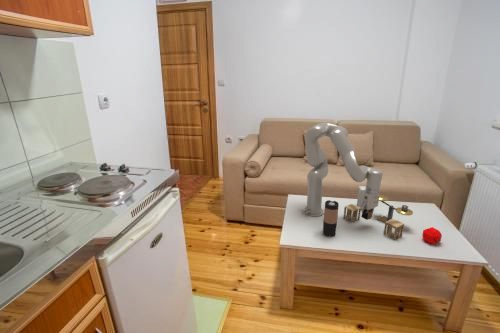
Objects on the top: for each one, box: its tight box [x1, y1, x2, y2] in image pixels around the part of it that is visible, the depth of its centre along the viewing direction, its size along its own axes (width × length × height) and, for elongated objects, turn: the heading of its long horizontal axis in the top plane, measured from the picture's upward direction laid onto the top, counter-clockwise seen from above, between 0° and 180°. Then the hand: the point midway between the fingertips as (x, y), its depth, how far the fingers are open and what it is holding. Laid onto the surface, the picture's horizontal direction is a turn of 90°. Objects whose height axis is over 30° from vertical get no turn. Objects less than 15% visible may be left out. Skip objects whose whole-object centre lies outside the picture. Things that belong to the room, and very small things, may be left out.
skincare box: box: [356, 185, 366, 208], centre depth 195 cm, size 8×7×16 cm
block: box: [360, 209, 373, 221], centre depth 172 cm, size 4×4×5 cm
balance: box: [376, 193, 414, 229], centre depth 177 cm, size 9×25×15 cm, turn 33°
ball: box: [421, 226, 443, 245], centre depth 158 cm, size 8×8×8 cm
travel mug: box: [322, 200, 339, 238], centre depth 164 cm, size 8×8×20 cm
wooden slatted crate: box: [343, 203, 362, 223], centre depth 182 cm, size 7×7×8 cm
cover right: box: [383, 218, 405, 241], centre depth 164 cm, size 7×7×8 cm
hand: (367, 216), depth 172 cm, fingers closed on block, 3 cm apart
